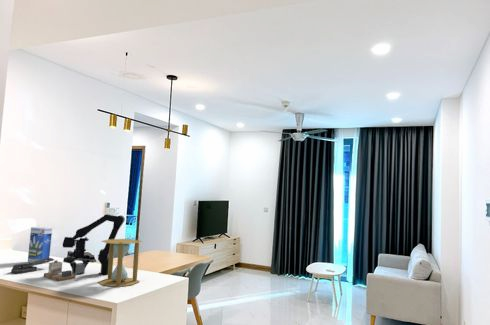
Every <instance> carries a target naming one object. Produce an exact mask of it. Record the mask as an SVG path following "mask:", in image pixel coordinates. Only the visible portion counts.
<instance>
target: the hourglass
mask: <svg viewBox="0 0 490 325" xmlns="http://www.w3.org/2000/svg"><path fill="white" fill-rule="evenodd" d="M141 242H143V241H142V240H139V239H129V238H115V239H109V240H108V239H105V240H101V243H105V244H106V243H110V248H109V260H108V274H107V278H105V279H102V280H99V281H97V283H99V284H100V285H102V286H107V287H116V288H117V287H118V288H119V287H126V286H133V285H135V284H137V283H140V280H138V270H139V255H140V253H139V250H140V243H141ZM131 244H134V249H133V251H134V252H133V260H132V262H133V266H132V277H128V272H127V270H126V268H125V266H124V264H123V261H124V260H123V259H124V258H125V256H126V254H127V252H129V249H130V245H131ZM115 254H116V256H117V262H116V263H117V264H116V267H114V255H115ZM113 268H114V269H113Z"/></svg>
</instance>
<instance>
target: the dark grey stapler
mask: <svg viewBox="0 0 490 325" xmlns="http://www.w3.org/2000/svg"><path fill="white" fill-rule="evenodd" d="M46 260H47V261H46ZM54 261H55V260H54V258H52V257H49V258H45V259H42V260H38V261H35V262H32V263H29V262H26V263H18V264H17V263H16V264H14V265H13V266H12V269H11V270H10V273H11V274H12V273H13V274H12V275H21V274H27V273H32V272H37V271H38V266H39V265H43V264H42V263H44V264H47V263H46V262H49V263H51V262H54Z"/></svg>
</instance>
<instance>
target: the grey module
mask: <svg viewBox="0 0 490 325" xmlns="http://www.w3.org/2000/svg"><path fill="white" fill-rule="evenodd" d="M71 271H72V270H71ZM85 271H86V268H85V264H84V263H83V262H79V263H77V262H76V268H75V273H73V271H72V274H73V275H75V276H77V275H78V274H83V275H85Z"/></svg>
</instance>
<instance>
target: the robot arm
mask: <svg viewBox="0 0 490 325" xmlns="http://www.w3.org/2000/svg"><path fill="white" fill-rule="evenodd" d="M125 219H126V218H125V216H124V215H113V214H108V213H106V214H104V215H103V216H101V217H100V218H98V219H97V220H95V221H93V222H92V223H90V224H88V225H86V226H84V227H80V228H79V229H77V230H76V231H75V234H74V235H73V237H72V236H64V239H63V242H62V248H63V249H64V248H74V247H75V249H73V251H72V250H67V256H66V257H63V260H62V261H63V262H62V263H66V264H69V265H70V267H71V271H73V273H75V268H76V264H77V262H76V261H82V262H81V263H84V264H85V269H86V267H87V266H88V265H89V263H90V262H91V261H93V260H95V255H94V254H90V253H89V254H85V252H86V251H87V249H86V242H88V241H90V239H89V238H88V237H87V235H88V234H90V232H91V231H92V230H94V229H96V228H97V227H99V226H100V225H102V224H103V223H105V222H112V223H113V225H112V226H113V227H112V229H111V232H110V234H109V237H108V239H107V240H109V239H116V237H117V235H118V232H119V230H120V228H121V227H122V225H124V223H125V221H126V220H125ZM83 237H84V238H83ZM109 248H110V243H105V246H104V247H103V249H102V248H101V249H100V250H99V254H98V255H97V260H98V262H99V263H100V272H98V274H99V275H103V276H106V275H107V276H108V260H109Z"/></svg>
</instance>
